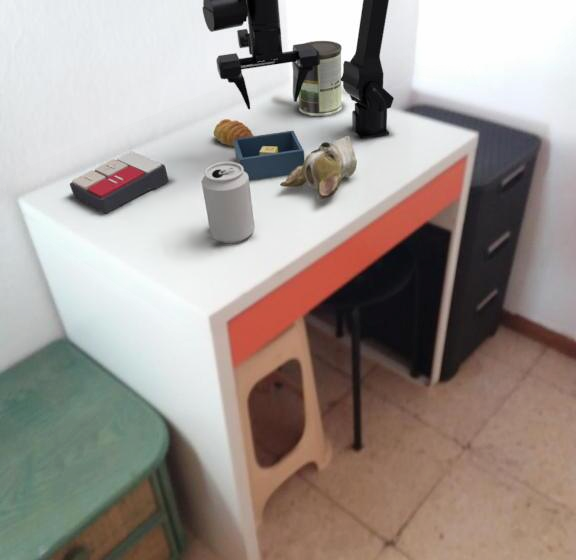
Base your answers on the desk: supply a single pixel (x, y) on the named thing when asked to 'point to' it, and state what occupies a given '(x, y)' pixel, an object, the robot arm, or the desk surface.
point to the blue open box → (269, 155)
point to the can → (228, 202)
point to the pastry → (231, 131)
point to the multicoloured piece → (119, 181)
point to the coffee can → (323, 82)
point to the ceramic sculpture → (325, 167)
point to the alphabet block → (268, 150)
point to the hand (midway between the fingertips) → (272, 105)
